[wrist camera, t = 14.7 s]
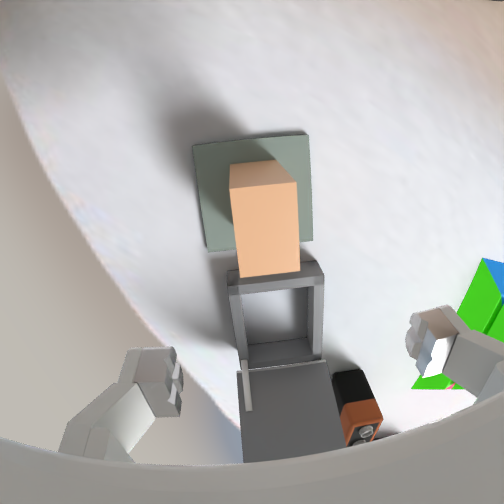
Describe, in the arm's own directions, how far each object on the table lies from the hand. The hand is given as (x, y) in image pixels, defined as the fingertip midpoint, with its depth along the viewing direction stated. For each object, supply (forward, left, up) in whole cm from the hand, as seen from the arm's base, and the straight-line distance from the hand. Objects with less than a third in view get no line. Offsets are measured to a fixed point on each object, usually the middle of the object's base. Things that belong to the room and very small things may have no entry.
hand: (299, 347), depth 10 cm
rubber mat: (0, 0, -20) cm, 20 cm away
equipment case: (+15, +1, -20) cm, 26 cm away
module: (0, 0, -20) cm, 20 cm away
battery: (+28, +10, -21) cm, 36 cm away
